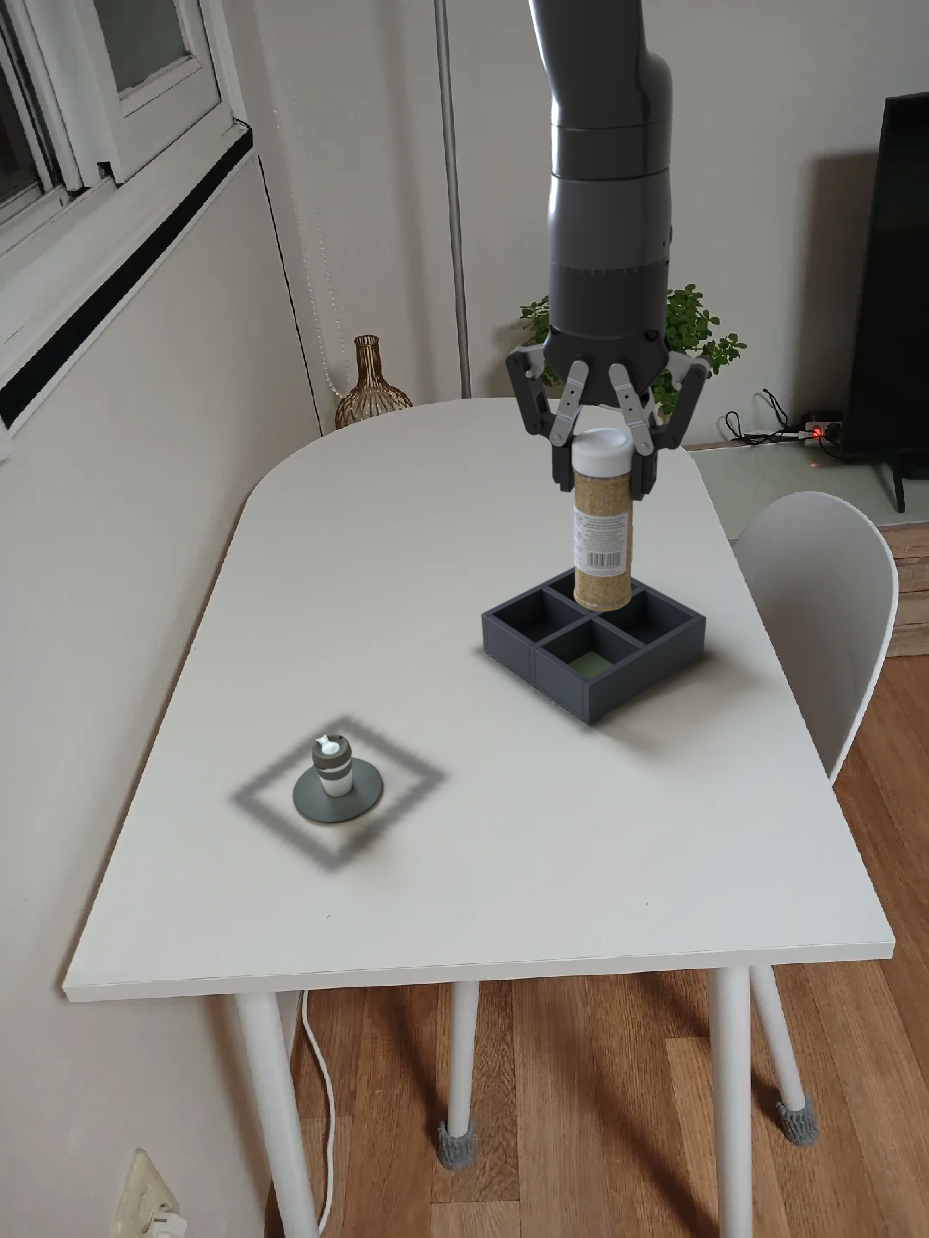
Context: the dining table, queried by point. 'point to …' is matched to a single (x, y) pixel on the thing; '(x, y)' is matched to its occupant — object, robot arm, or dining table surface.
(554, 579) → the divided storage tray
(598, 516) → the sprinkles bottle
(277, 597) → the dining table surface
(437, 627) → the dining table surface
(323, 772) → the coffee cup
